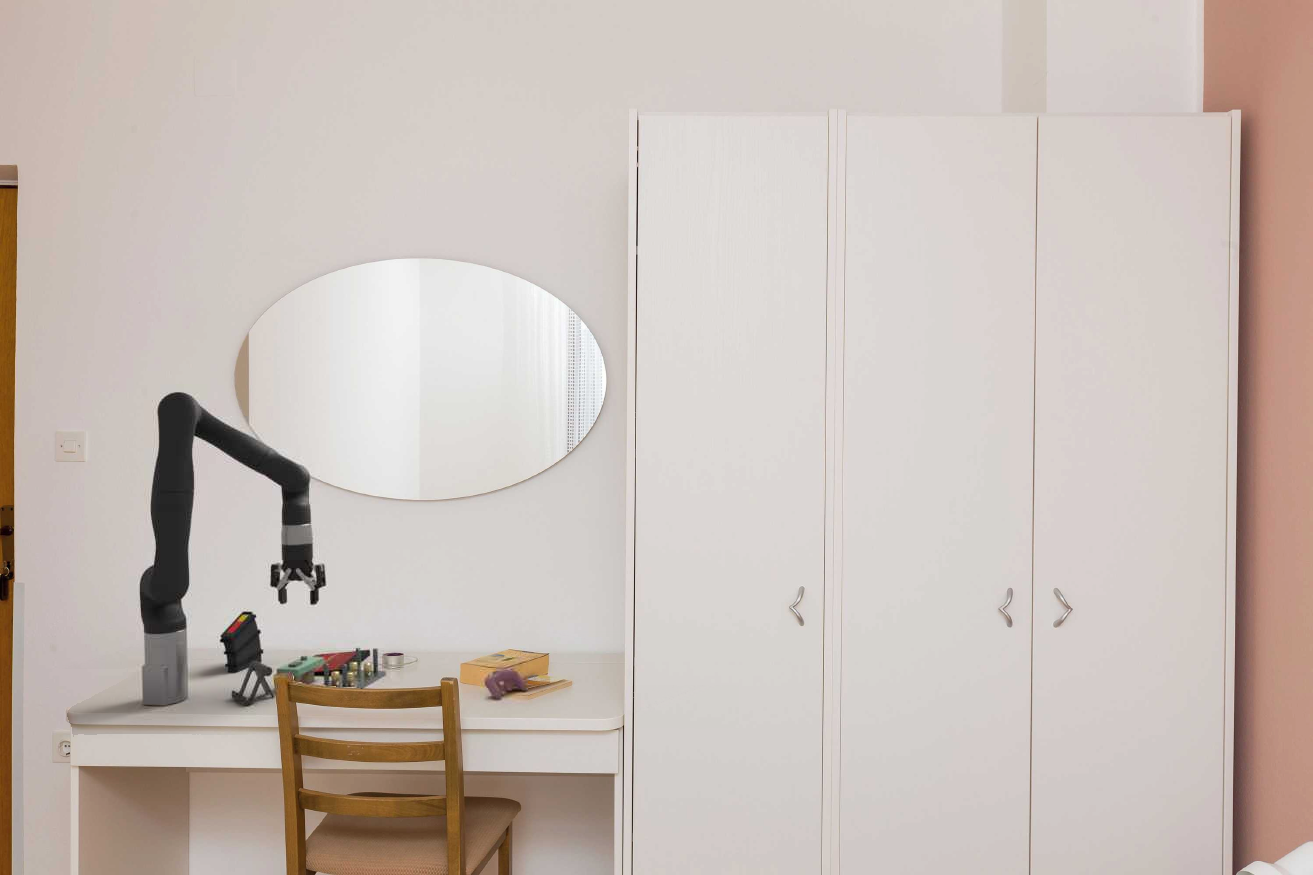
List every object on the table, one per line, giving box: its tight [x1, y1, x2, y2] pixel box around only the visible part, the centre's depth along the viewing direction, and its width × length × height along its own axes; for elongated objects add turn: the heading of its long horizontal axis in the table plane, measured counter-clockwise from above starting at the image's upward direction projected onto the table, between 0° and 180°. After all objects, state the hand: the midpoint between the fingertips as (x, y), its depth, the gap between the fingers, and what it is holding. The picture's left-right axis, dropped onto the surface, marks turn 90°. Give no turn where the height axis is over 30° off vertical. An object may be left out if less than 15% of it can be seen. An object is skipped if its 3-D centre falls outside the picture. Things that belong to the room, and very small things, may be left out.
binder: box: [311, 649, 371, 677], centre depth 255 cm, size 16×2×21 cm
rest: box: [294, 669, 315, 684], centre depth 237 cm, size 8×2×4 cm, turn 169°
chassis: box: [322, 647, 387, 689], centre depth 237 cm, size 17×10×7 cm, turn 169°
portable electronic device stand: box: [231, 661, 275, 707], centre depth 225 cm, size 9×8×8 cm
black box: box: [219, 610, 264, 673], centre depth 254 cm, size 4×13×15 cm, turn 168°
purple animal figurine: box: [484, 667, 527, 700], centre depth 227 cm, size 10×5×7 cm, turn 141°
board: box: [276, 655, 324, 676], centre depth 237 cm, size 12×6×2 cm, turn 169°
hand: (298, 603), depth 238 cm, fingers open, 8 cm apart
